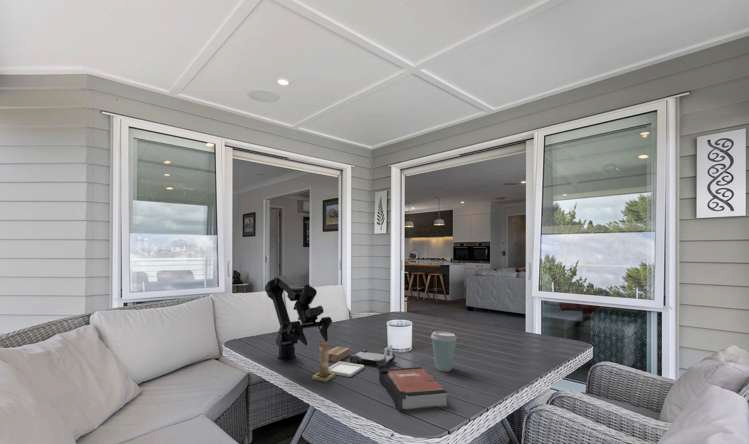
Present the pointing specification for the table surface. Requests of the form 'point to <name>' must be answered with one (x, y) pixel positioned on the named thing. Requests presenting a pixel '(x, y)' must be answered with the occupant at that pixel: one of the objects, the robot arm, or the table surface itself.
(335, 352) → the bar
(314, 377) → the pin socket
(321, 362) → the pin
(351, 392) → the table surface
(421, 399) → the book
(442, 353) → the disposable coffee cup
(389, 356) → the trolley
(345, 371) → the tray
